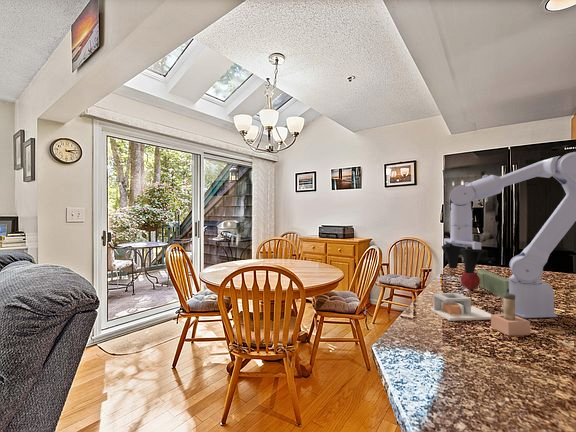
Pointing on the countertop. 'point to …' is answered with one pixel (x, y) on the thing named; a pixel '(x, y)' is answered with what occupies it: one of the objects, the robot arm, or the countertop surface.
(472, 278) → the onion
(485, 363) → the countertop surface
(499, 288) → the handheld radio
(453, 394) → the countertop surface
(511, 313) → the stylus
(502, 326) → the stylus holder
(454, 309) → the button
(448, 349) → the countertop surface
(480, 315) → the square socket plate
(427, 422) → the countertop surface
